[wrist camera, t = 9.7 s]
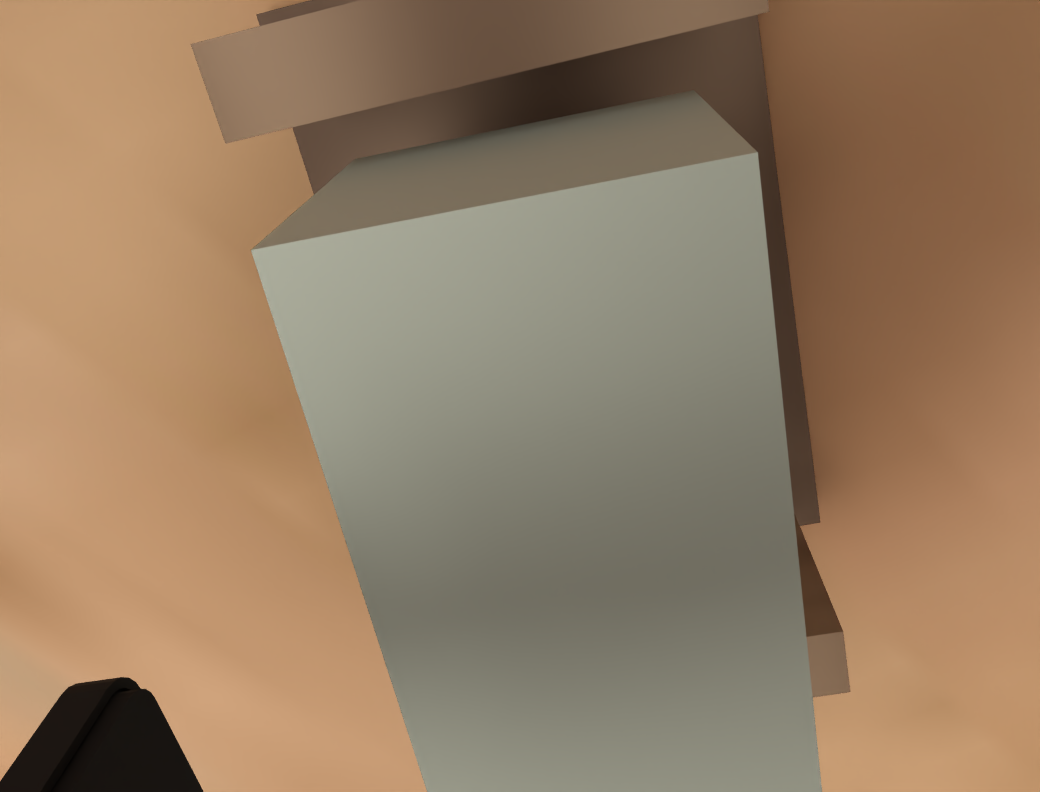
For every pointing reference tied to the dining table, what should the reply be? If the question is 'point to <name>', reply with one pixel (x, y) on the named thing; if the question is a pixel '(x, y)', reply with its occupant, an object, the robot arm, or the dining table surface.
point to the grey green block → (561, 449)
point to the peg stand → (517, 101)
